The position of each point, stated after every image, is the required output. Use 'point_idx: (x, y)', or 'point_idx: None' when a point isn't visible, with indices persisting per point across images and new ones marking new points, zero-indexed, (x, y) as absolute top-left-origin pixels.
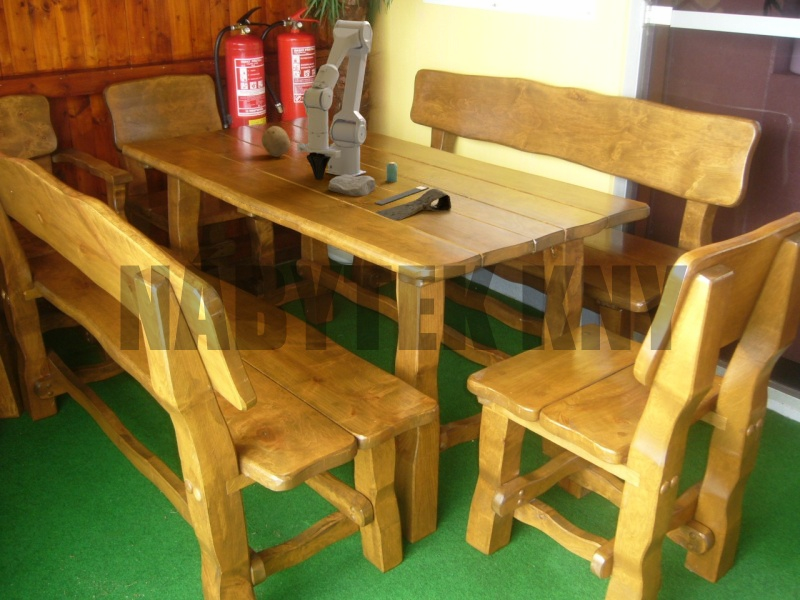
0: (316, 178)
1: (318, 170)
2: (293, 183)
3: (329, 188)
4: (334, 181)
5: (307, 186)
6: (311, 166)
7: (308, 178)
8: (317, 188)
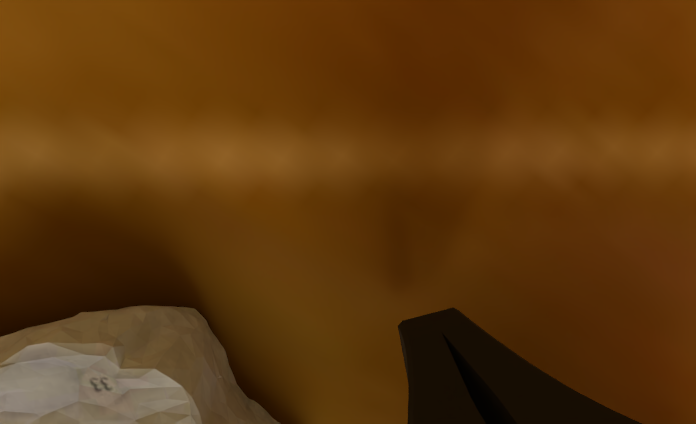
0: (433, 321)
1: (412, 415)
2: (680, 138)
3: (168, 307)
4: (111, 416)
5: (481, 193)
6: (583, 401)
7: (677, 350)
8: (340, 237)
